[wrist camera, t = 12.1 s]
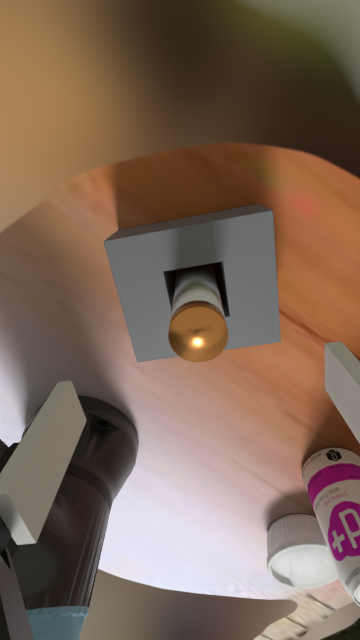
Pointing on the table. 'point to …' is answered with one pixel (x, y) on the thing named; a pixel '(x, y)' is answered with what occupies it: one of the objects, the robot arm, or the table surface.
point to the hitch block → (193, 250)
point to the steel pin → (197, 315)
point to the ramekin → (299, 553)
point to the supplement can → (338, 509)
